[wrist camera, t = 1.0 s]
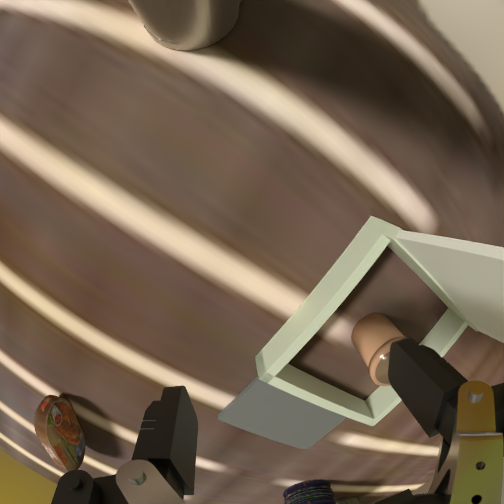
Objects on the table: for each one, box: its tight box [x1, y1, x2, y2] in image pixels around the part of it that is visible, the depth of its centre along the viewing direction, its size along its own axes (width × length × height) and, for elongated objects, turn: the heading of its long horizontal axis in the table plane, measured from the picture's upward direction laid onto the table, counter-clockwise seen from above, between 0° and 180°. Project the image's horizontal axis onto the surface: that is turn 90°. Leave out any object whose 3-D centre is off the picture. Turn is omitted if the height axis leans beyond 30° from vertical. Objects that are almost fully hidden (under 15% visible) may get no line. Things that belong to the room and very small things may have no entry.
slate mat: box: [218, 376, 347, 450], centre depth 36 cm, size 10×16×1 cm, turn 54°
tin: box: [34, 395, 86, 471], centre depth 31 cm, size 15×3×8 cm, turn 174°
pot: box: [351, 313, 406, 386], centre depth 30 cm, size 6×6×7 cm
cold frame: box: [255, 216, 504, 426], centre depth 22 cm, size 23×20×22 cm
